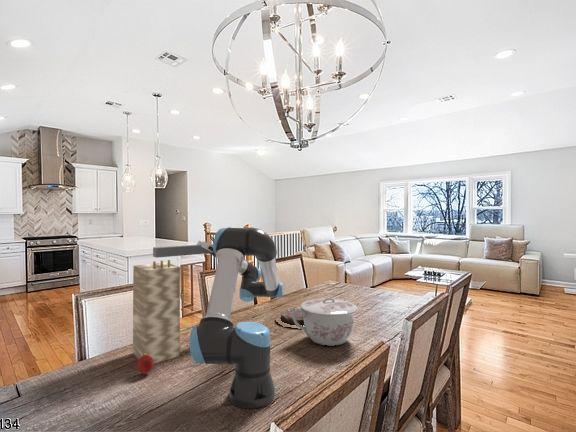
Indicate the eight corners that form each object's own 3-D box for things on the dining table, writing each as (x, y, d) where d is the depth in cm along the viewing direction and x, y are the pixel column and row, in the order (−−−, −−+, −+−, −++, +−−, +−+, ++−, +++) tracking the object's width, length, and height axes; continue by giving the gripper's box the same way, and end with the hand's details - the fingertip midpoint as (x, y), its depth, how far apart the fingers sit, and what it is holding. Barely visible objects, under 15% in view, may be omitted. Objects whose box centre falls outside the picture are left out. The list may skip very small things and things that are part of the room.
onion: (149, 369, 124) (149, 348, 124) (156, 373, 121) (156, 352, 121) (134, 374, 120) (134, 353, 120) (141, 379, 116) (141, 357, 116)
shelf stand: (145, 366, 126) (146, 262, 126) (132, 353, 138) (133, 258, 138) (179, 356, 136) (180, 259, 136) (165, 344, 148) (165, 256, 148)
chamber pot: (365, 337, 159) (365, 295, 159) (345, 357, 135) (346, 309, 135) (314, 326, 173) (314, 288, 173) (288, 344, 150) (289, 299, 150)
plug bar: (156, 257, 135) (156, 248, 135) (153, 256, 138) (153, 247, 138) (213, 252, 153) (213, 244, 153) (209, 252, 156) (209, 243, 156)
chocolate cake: (267, 326, 174) (267, 314, 174) (284, 311, 200) (284, 301, 200) (317, 333, 165) (317, 320, 165) (328, 316, 191) (328, 306, 191)
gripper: (230, 255, 172) (195, 235, 158) (249, 259, 159) (212, 237, 145) (224, 268, 169) (188, 249, 155) (242, 273, 156) (205, 252, 143)
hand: (200, 243), depth 150 cm, fingers closed on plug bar, 4 cm apart
